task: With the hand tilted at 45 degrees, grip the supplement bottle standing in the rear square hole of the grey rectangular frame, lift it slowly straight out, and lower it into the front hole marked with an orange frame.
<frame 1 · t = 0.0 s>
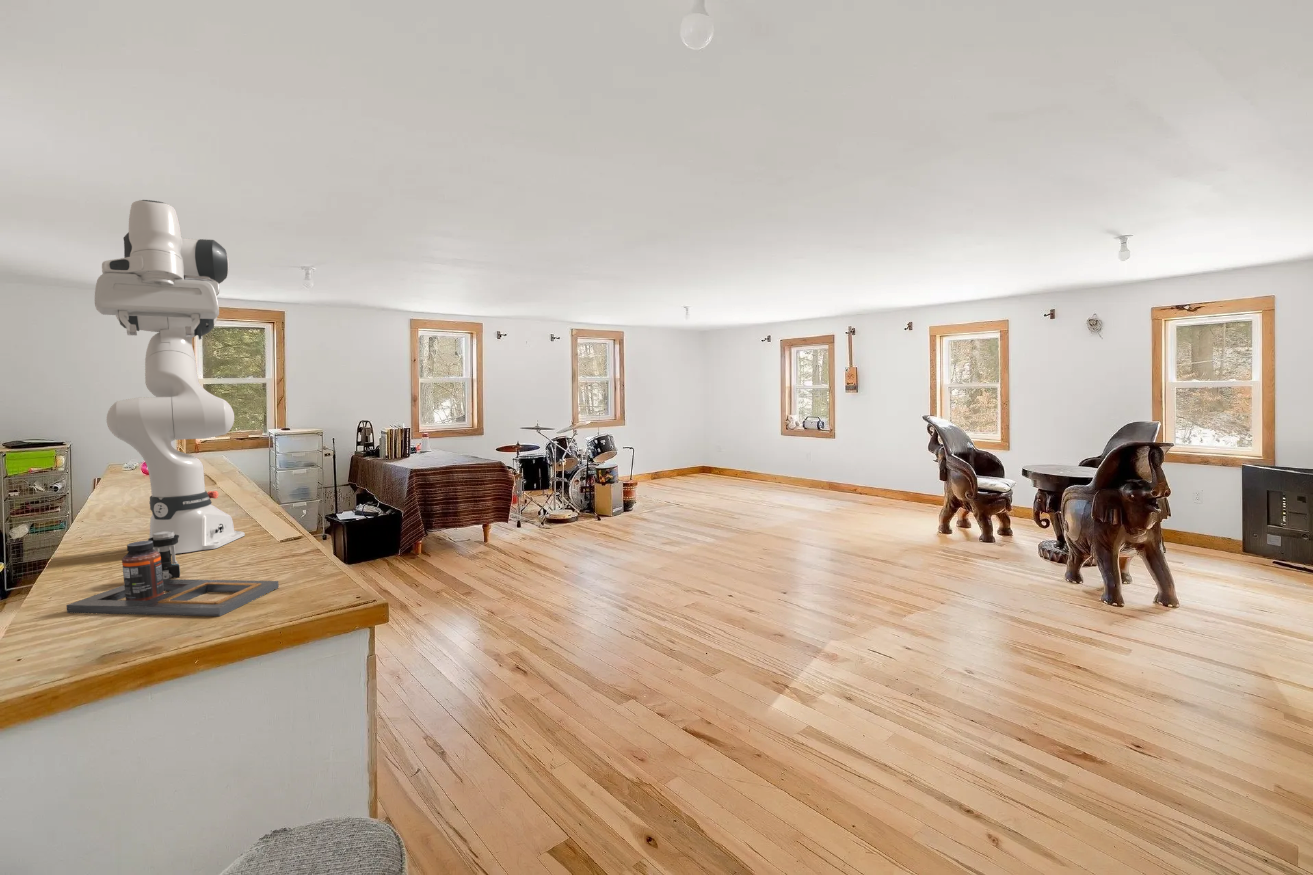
hand: (161, 335, 131), 52 cm above the table, tool tilted 20°, fingers open, 8 cm apart
grey rectangular frame: (178, 599, 125), on the table
supplement bottle: (145, 600, 126), resting in grey rectangular frame
push button: (162, 579, 139), on the table
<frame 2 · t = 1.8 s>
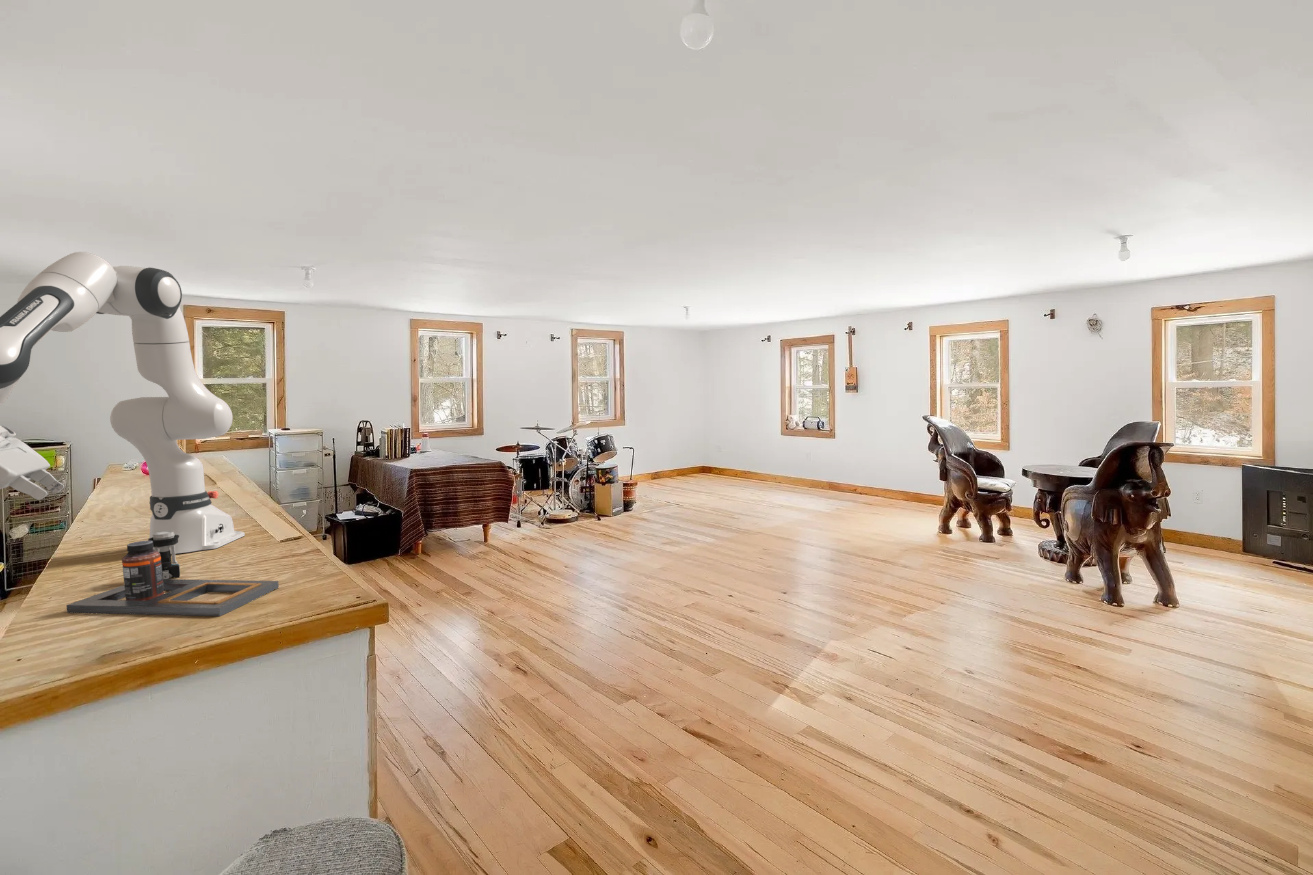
hand: (52, 493, 118), 22 cm above the table, tool tilted 45°, fingers open, 8 cm apart
nothing on the table moved.
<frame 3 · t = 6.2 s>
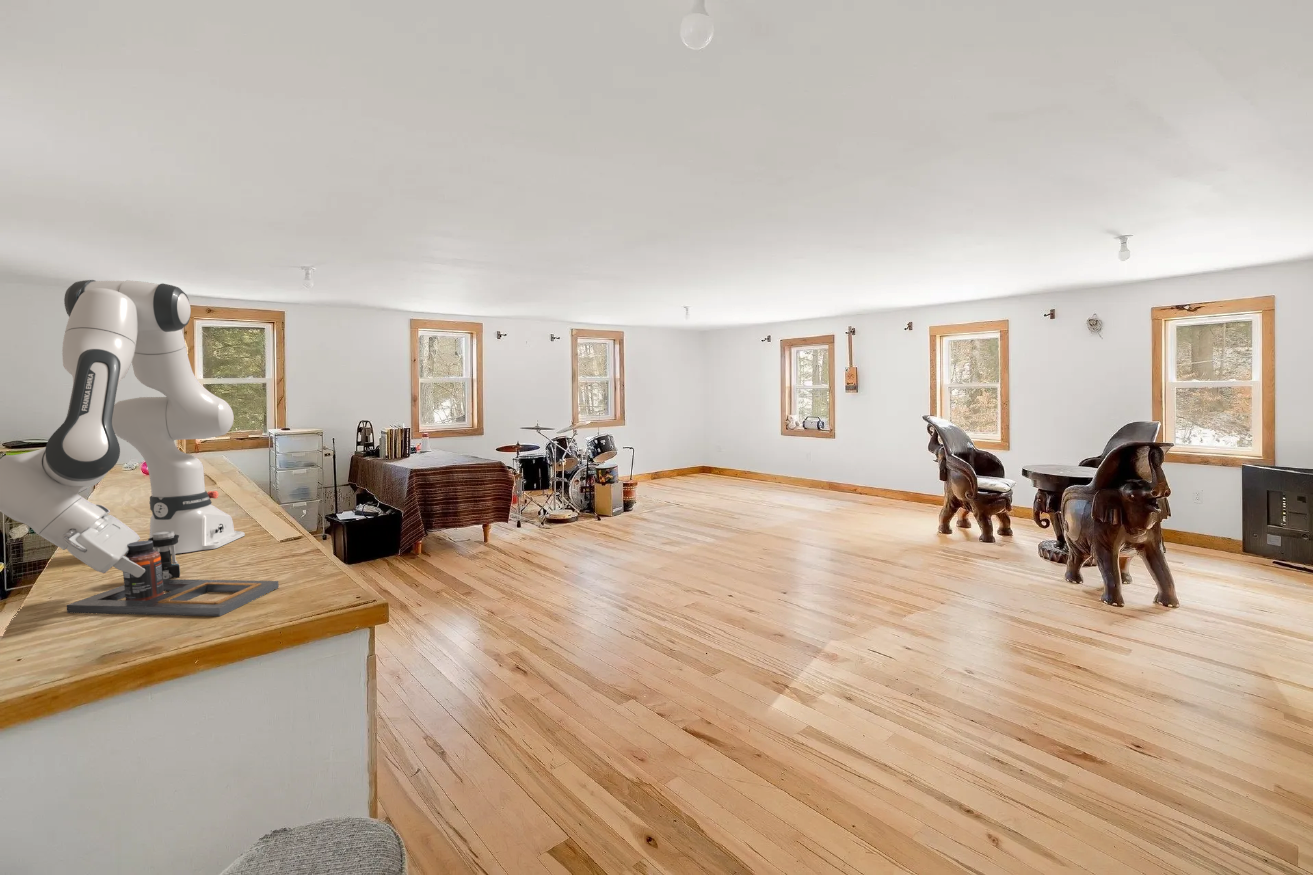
hand: (146, 568, 126), 6 cm above the table, tool tilted 45°, fingers closed on supplement bottle, 6 cm apart
supplement bottle: (145, 600, 126), resting in grey rectangular frame, touching gripper
everything else where it was.
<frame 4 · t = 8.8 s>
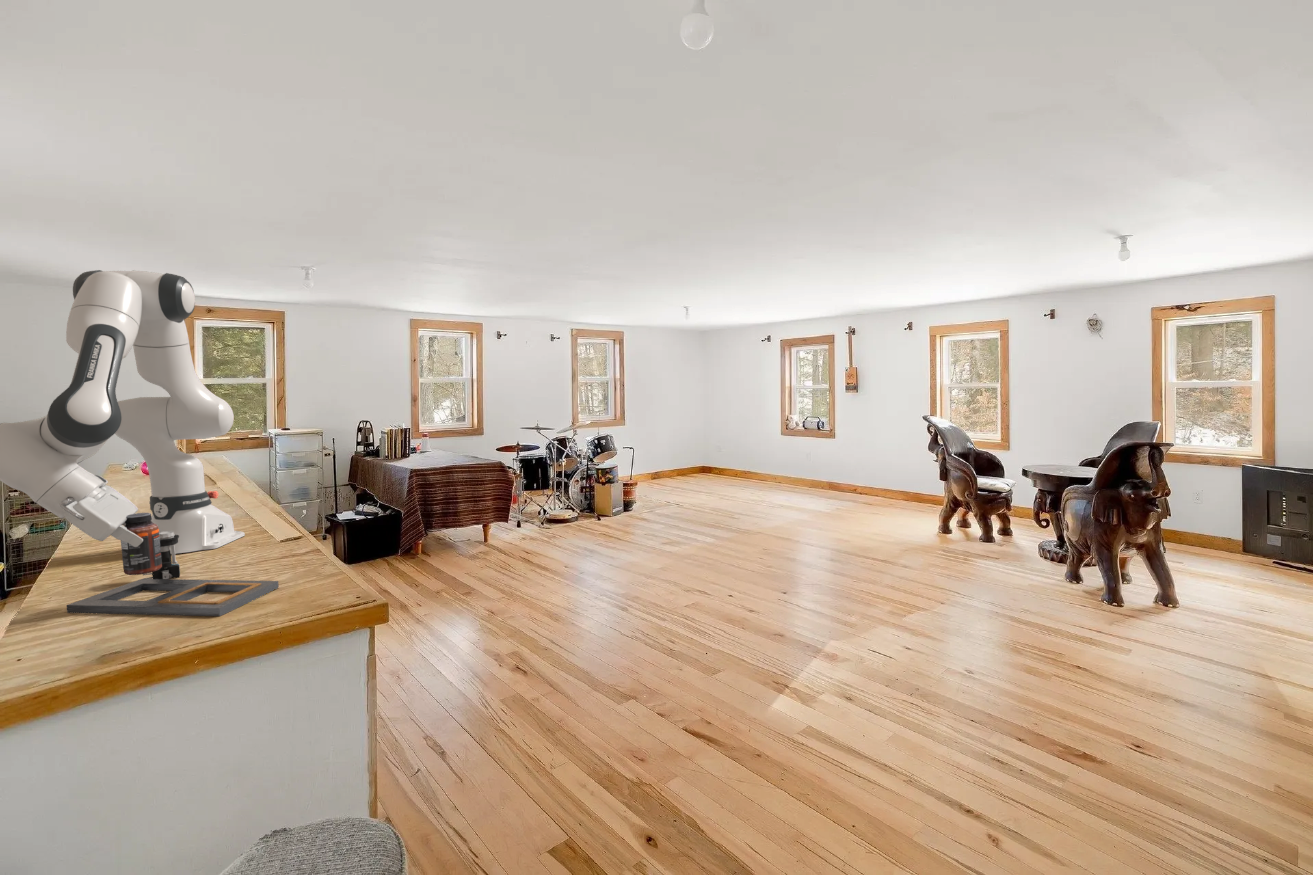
hand: (144, 539, 125), 12 cm above the table, tool tilted 45°, fingers closed on supplement bottle, 6 cm apart
supplement bottle: (143, 572, 126), point 5 cm above the table, touching gripper
everything else where it was.
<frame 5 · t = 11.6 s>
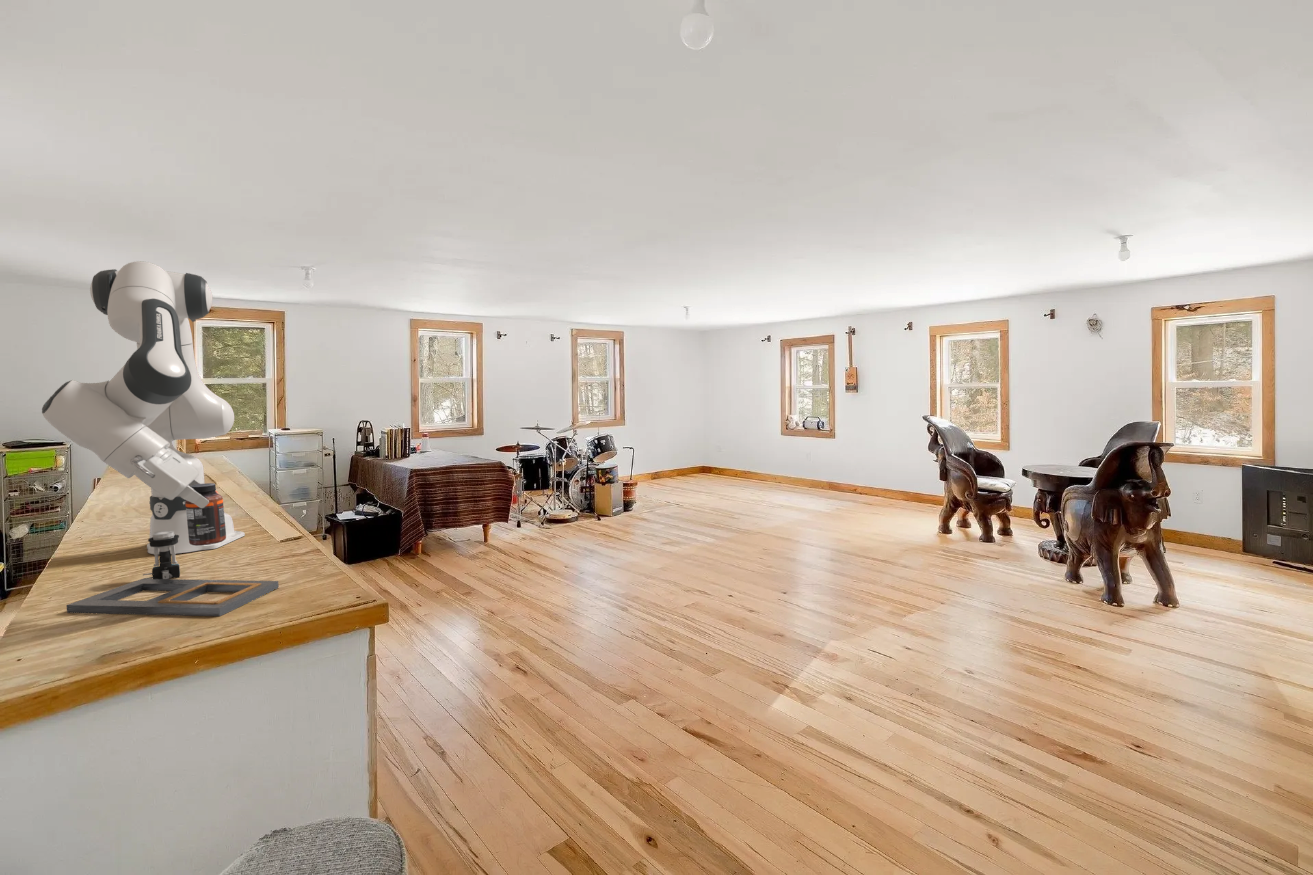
hand: (208, 501, 123), 19 cm above the table, tool tilted 45°, fingers closed on supplement bottle, 6 cm apart
supplement bottle: (208, 543, 124), point 11 cm above the table, touching gripper
everything else where it was.
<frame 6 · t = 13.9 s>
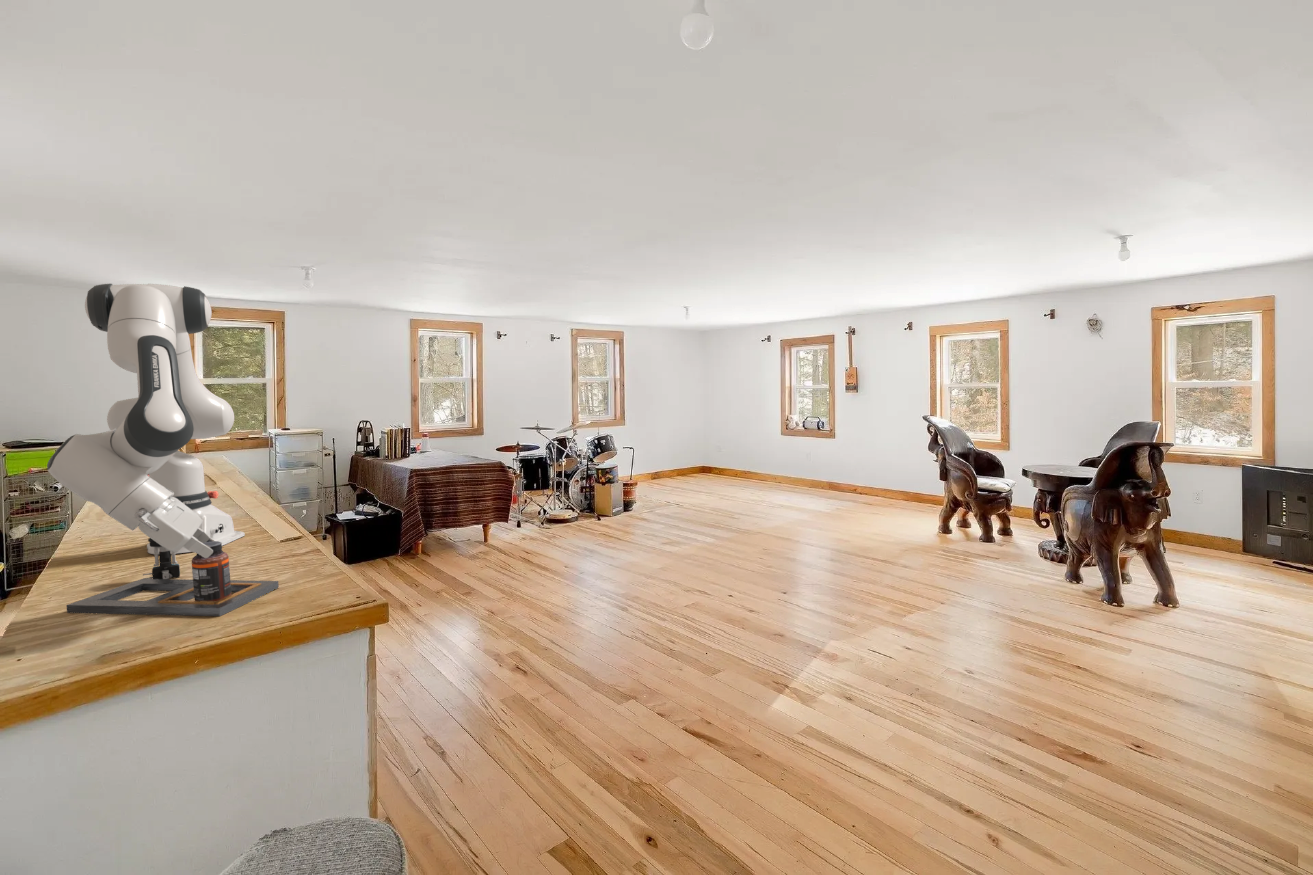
hand: (212, 550, 124), 10 cm above the table, tool tilted 45°, fingers open, 5 cm apart
supplement bottle: (213, 601, 125), resting in grey rectangular frame, touching gripper
everything else where it was.
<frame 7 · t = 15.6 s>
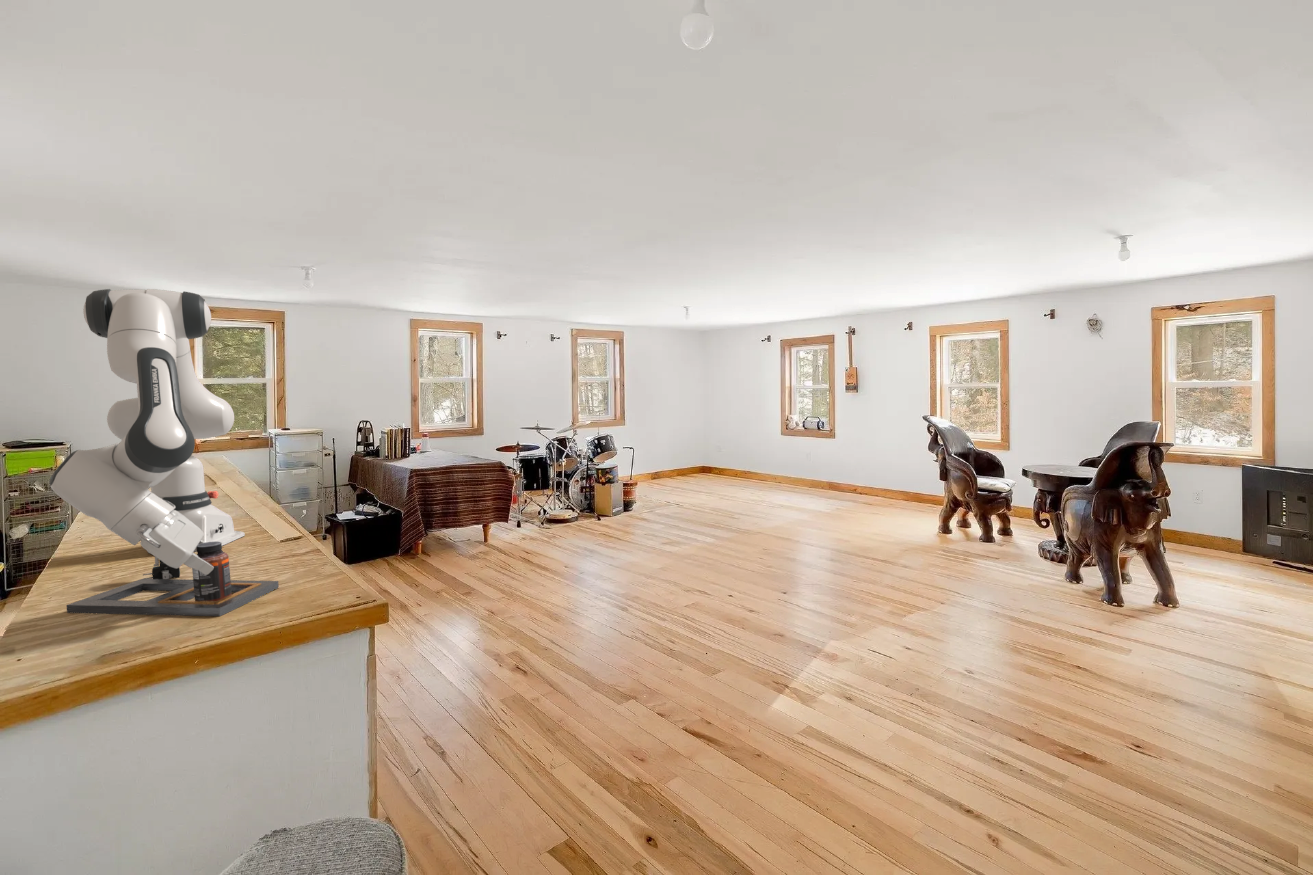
hand: (213, 564, 124), 7 cm above the table, tool tilted 45°, fingers open, 8 cm apart
supplement bottle: (213, 601, 125), resting in grey rectangular frame
everything else where it was.
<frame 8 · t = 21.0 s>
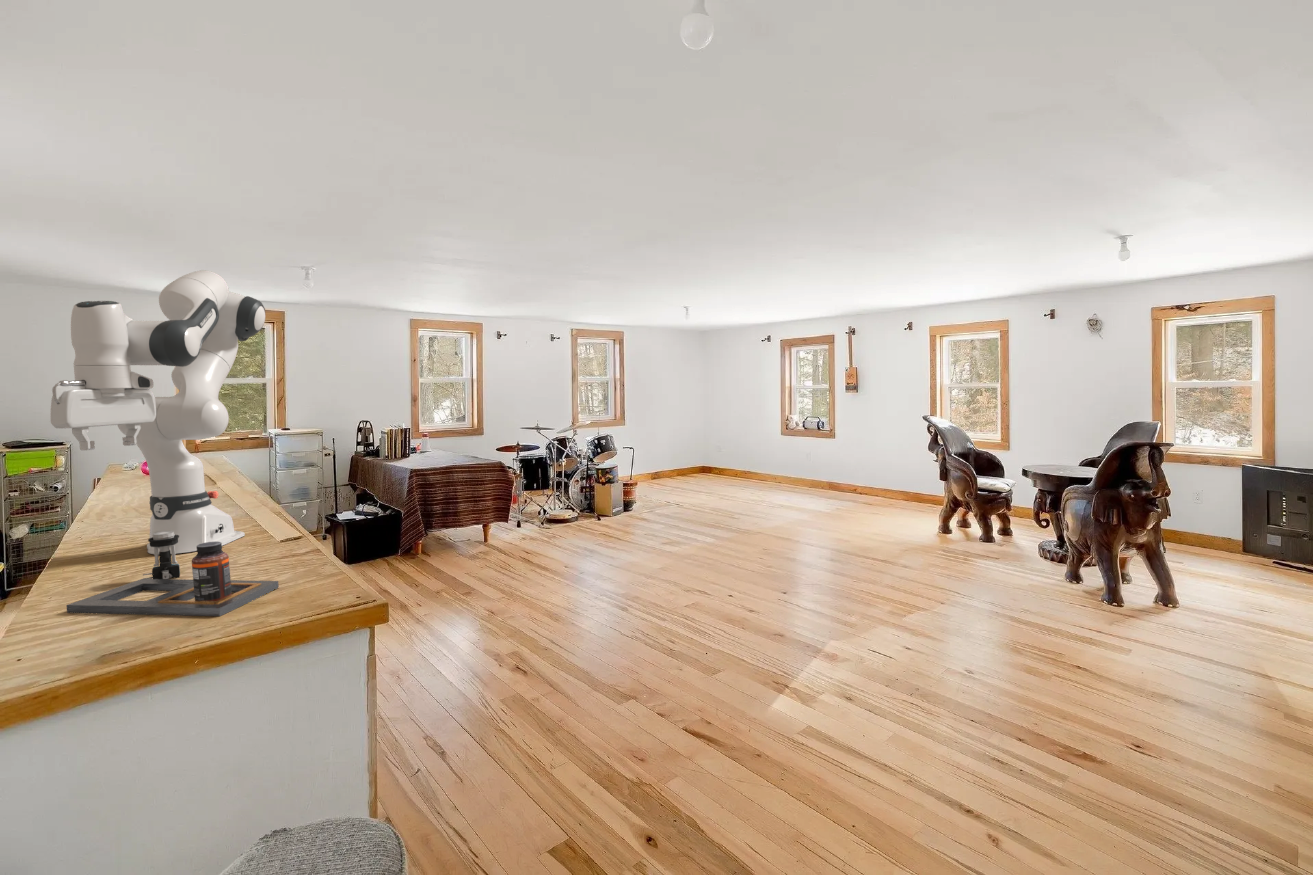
hand: (109, 447, 132), 29 cm above the table, tool pointing down, fingers open, 8 cm apart
nothing on the table moved.
at the end: supplement bottle 0.3 cm from the target spot on the grey rectangular frame, point 0.0 cm above the grey rectangular frame's base; supplement bottle tilted 0°; the gripper is holding nothing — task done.
